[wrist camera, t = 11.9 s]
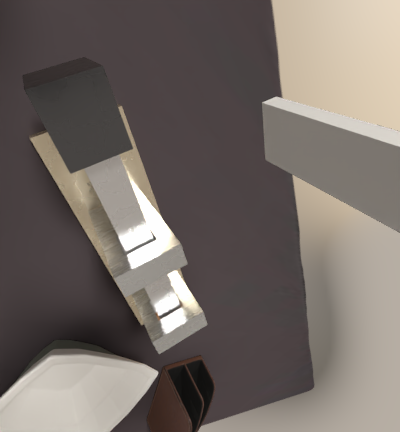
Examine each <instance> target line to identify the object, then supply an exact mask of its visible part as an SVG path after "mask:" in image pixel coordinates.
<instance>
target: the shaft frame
mask: <svg viewBox="0 0 400 432" xmlns="http://www.w3.org/2000/svg"><path fill="white" fill-rule="evenodd" d="M117 106H118V108H119V111H120V114H121V117H122V119H123V122H124V125H125V127H126V130H127V133H128V136H129V138H130V141H131V144H132V146H133V149H132V150H129V151H127V152H124V153H122V154H119V155H120V158H121V160H122V163H123V165H124V168H125V170H126V172H127V175H128V177H129V180H130V182H131V185H132V187H133V190H134V192H135V195H136V197H137V200H138V202H139V204H140V207H141V209H142V212H143V214H144V217H145V219H146V222H147V224H148V227H149V229H150V232H151V234H152V236H153V239H154V242H152V243H150V244H148V245H146V246H144V247H142V248H140V249H138V250H136V251H134V252H132V253H130V254H128V255H127V253H126V251H125V249H124V247H123V245H122V243H121V241H120V239H119V237H118V235H117V233H116V231H115V229H114V227H113V225H112V223H111V221H110V219H109V217H108V215H107V213H106V211H105V209H104V207H103V205H102V203H101V201H100V199H99V197H98V195H97V193H96V191H95V190H94V188H93V186H92V184H91V182H90V180H89V178H88V176H87V174H86V172H85V170H84V169H82V170H79V171H77V172H74V173H72V174H70V172H69V170H68V168H67V167H66V165H65V163H64V161H63V159H62V158H61V156H60V154H59V152H58V150H57V148H56V147H55V145H54V143H53V141H52V139H51V137H50V136H49V134H48V132H47V130H44V131H41V132H39V133H36V134H33V135H30V136H29V137H30V140H31V142H32V143H33V145H34V147H35V148H36V150H37V152H38V153H39V155H40V157H41V158H42V160H43V162H44V163H45V165H46V167H47V168H48V170H49V172H50V173H51V175H52V177H53V178H54V180H55V182H56V183H57V185H58V187H59V188H60V190H61V192H62V194H63V195H64V197H65V199H66V200H67V202H68V204H69V205H70V207H71V209H72V210H73V212H74V214H75V215H76V217H77V219H78V220H79V222H80V224H81V225H82V227H83V229H84V230H85V232H86V234H87V235H88V237H89V239H90V240H91V242H92V244H93V245H94V247H95V249H96V250H97V252H98V254H99V255H100V257H101V259H102V260H103V262H104V264H105V266H106V267H107V269H108V271H109V272H110V274H111V276H112V277H113V279H114V281H115V282H116V284H117V286H118V287H119V289H120V291H121V292H122V294H123V296H124V297H125V299H126V301H127V302H128V304H129V306H130V307H131V309H132V311H133V312H134V314H135V316H136V317H137V319H138V321H139V322H140V324H141V325H143V324H144V325H145V327H146V329H147V332H148V334H149V336H150V339H151V341H152V343H153V345H154V346H155V348H156V350H157V352H158V353H159V354H161V353H162V352H164V351H165V350H167V349H169V348H170V347H172V346H174V345H175V344H177V343H178V342H180V341H182V340H183V339H185V338H186V337H188V336H190V335H191V334H193V333H195V332H196V331H198V330H199V329H201V328H203V327H204V326H206V325H207V322H206V319H205V316H204V313H203V311H202V309H201V308H200V306H199V305H198V303H197V302H196V300H195V298H194V297H193V295H192V294H191V292H190V291H189V289H188V288H187V286H186V284H185V281H184V278H183V276H182V273H181V270H180V268H181V267H183V266H185V265H187V261H186V258H185V255H184V252H183V249H182V246H181V243H180V242H179V241H178V239H177V238H176V237H175V235H174V234H173V233H172V232H171V230H170V229H169V228H168V226H167V225H166V224H165V222H164V221H163V220H162V217H161V214H160V212H159V209H158V206H157V203H156V200H155V198H154V195H153V192H152V189H151V186H150V184H149V181H148V178H147V175H146V173H145V170H144V167H143V164H142V161H141V159H140V156H139V153H138V150H137V147H136V145H135V142H134V139H133V136H132V134H131V131H130V128H129V125H128V122H127V120H126V117H125V114H124V111H123V108H122V106H121V105H120V104H118V105H117ZM166 275H168V276H169V278H170V281H171V283H172V286H173V288H174V291H175V293H176V296H177V298H178V301H179V303H180V305H181V308H180V309H178V310H176V311H174V312H173V313H171V314H169V315H168V316H166V317H164V318H162V319H161V320H158V318H157V316H156V314H155V313H156V310H155V308H154V306H153V304H152V302H151V300H150V298H149V296H148V294H147V292H146V290H145V288H144V287H146V286H148V285H150V284H152V283H153V282H155V281H157V280H159V279H161V278H163V277H164V276H166Z"/></svg>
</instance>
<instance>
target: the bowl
mask: <svg viewBox="0 0 400 432" xmlns="http://www.w3.org/2000/svg"><path fill="white" fill-rule="evenodd" d="M157 375H158V371H156V370H154V369H153V368H151V367H149V366H147V365H145V364H143V363H140V362H137V361H134V360H130V359H127V358H124V357H121V356H117V355H115V354H113V353H111V352H109V351H107V350H105V349H104V348H102V347H100V346H98V345H93V344H88V343H84V342H78V341H73V340H55V341H53V342H52V343H51V344H49V345H48V346H47V347H45V348H44V349H43V350H42V351H41V352H40V353H39V354H38V355H37V356H36V357H35V358H34V359H33V360H32V361H31V362H30V363H29V364H28V365H27V367H26V368H25V369H24V371H23V372H22V373H21V375H20V376H19V377H18V379H17V380H16V381H15V383H14V384H13V385H12V386H11V387H10V388H9V389H8V390H7V391H6V392H5V393H4V394H3V395H2V396H1V397H0V432H110V431H111V430H112V429H113V428H114V427H115V426H116V425H117V424H118V423H119V422H120V421H121V420H122V419H123V418H124V417H125V416H126V415H127V414H128V413H129V412H130V411H131V410H132V408H133V407H134V406H135V405H136V404H137V402H138V401H139V400H140V399H141V398H142V396H143V395H144V394H145V393H146V392H147V390H148V389H149V387H150V386H151V384H152V383H153V381H154V380H155V378H156V377H157Z"/></svg>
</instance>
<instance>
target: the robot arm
mask: <svg viewBox="0 0 400 432" xmlns="http://www.w3.org/2000/svg"><path fill="white" fill-rule="evenodd" d="M262 110H263V127H264V143H265V160H267V161H269V162H270V163H272V164H274V165H276V166H278V167H280V168H282V169H283V170H285V171H287V172H289V173H291V174H293V175H295V176H296V177H298V178H300V179H302V180H304V181H306V182H307V183H309V184H311V185H313V186H315V187H317V188H318V189H320V190H322V191H324V192H326V193H328V194H329V195H331V196H333V197H335V198H337V199H339V200H340V201H343V202H344V203H346V204H348V205H350V206H352V207H353V208H355V209H357V210H359V211H361V212H363V213H364V214H366V215H368V216H370V217H372V218H374V219H376V220H377V221H379V222H381V223H383V224H385V225H386V226H388V227H390V228H392V229H394V230H396V231H397V232H399V233H400V131H398V130H393V129H390V128H386V127H383V126H380V125H375V124H372V123H368V122H365V121H361V120H357V119H354V118H350V117H347V116H343V115H340V114H336V113H332V112H329V111H326V110H322V109H318V108H315V107H311V106H308V105H304V104H301V103H297V102H293V101H290V100H286V99H283V98H279V97H275V98H272V99H270V100H267V101H265V102H263V103H262Z"/></svg>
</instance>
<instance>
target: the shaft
mask: <svg viewBox="0 0 400 432" xmlns="http://www.w3.org/2000/svg"><path fill="white" fill-rule="evenodd" d="M23 83H24V90H25V92H26V94H27V95H28V97H29V99H30V101H31V103H32V105H33V106H34V108H35V110H36V112H37V114H38V116H39V117H40V119H41V121H42V123H43V125H44V126H45V128H46V130H47V132H48V134H49V136H50V137H51V139H52V141H53V143H54V145H55V147H56V148H57V150H58V152H59V154H60V156H61V158H62V159H63V161H64V163H65V165H66V167H67V168H68V170H69V172H70V174H72V173H74V172H77V171H79V170H82V169H84V170H85V172H86V174H87V176H88V178H89V180H90V182H91V184H92V186H93V188H94V190H95V191H96V193H97V195H98V197H99V199H100V201H101V203H102V205H103V207H104V209H105V211H106V213H107V215H108V217H109V219H110V221H111V223H112V225H113V227H114V229H115V231H116V233H117V235H118V237H119V239H120V241H121V243H122V245H123V247H124V249H125V251H126V253H127V255H128V254H130V253H132V252H134V251H136V250H138V249H140V248H142V247H144V246H146V245H148V244H150V243H152V242H154V239H153V236H152V234H151V232H150V229H149V227H148V224H147V222H146V219H145V217H144V214H143V212H142V209H141V207H140V204H139V202H138V200H137V197H136V195H135V192H134V190H133V187H132V185H131V182H130V180H129V177H128V175H127V172H126V170H125V168H124V165H123V163H122V160H121V158H120V155H119V154H122V153H124V152H127V151H129V150H132V149H133V146H132V144H131V141H130V138H129V136H128V133H127V130H126V127H125V125H124V122H123V119H122V117H121V114H120V111H119V108H118V106H117V103H116V100H115V97H114V95H113V92H112V89H111V87H110V84H109V81H108V78H107V76H106V73H105V70H104V68H103V66H102V65H100V64H98V63H96V62H94V61H92V60H89V59H87V58H85V57H83V58H79V59H76V60H73V61H69V62H66V63H62V64H59V65H56V66H52V67H49V68H46V69H42V70H39V71H35V72H32V73H29V74H25V75H23ZM144 288H145V290H146V292H147V294H148V296H149V298H150V300H151V302H152V304H153V306H154V308H155V310H156V312H157V314H158V316H159V318H160V320H161V319H162V318H164V317H166V316H168V315H169V314H171V313H173V312H174V311H176V310H178V309H180V308H181V305H180V303H179V301H178V298H177V296H176V293H175V291H174V288H173V286H172V283H171V281H170V278H169V276H168V275H166V276H164V277H163V278H161V279H159V280H157V281H155V282H153V283H152V284H150V285H148V286H146V287H144Z"/></svg>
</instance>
